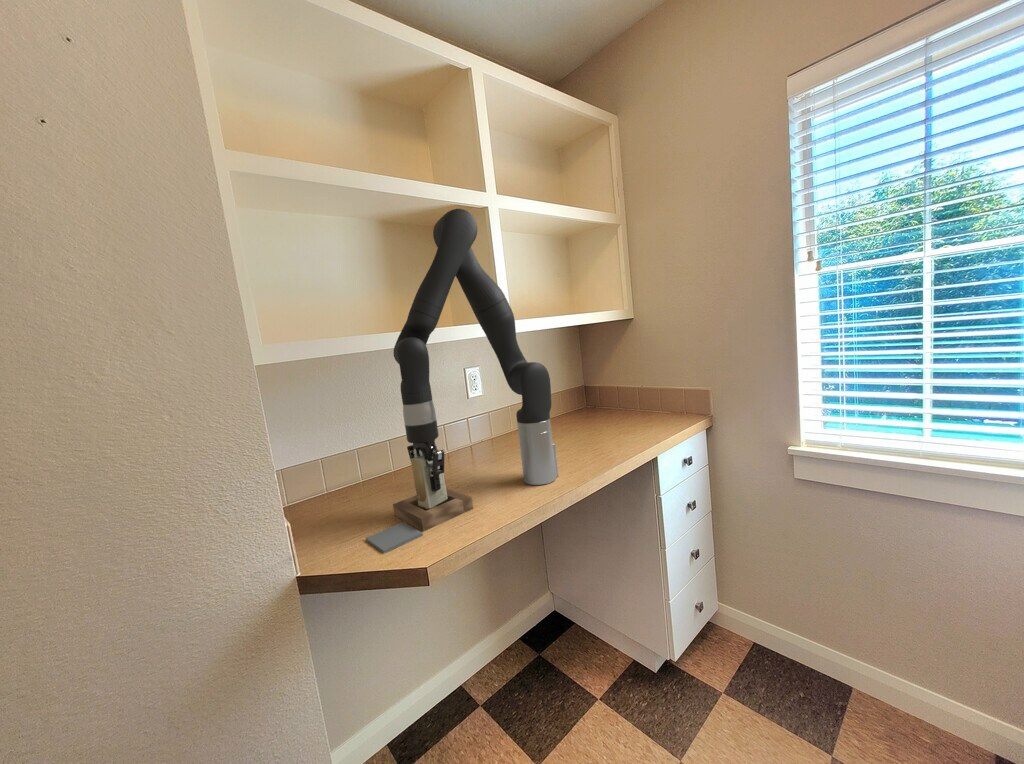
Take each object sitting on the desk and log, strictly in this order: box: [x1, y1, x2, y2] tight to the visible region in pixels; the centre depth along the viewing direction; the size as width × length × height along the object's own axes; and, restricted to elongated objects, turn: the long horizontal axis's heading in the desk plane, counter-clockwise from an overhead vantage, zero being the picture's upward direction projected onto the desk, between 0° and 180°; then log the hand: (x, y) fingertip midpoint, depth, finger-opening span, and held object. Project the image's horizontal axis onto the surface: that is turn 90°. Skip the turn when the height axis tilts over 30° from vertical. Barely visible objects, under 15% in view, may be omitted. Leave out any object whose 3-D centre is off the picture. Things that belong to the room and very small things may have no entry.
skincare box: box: [410, 456, 448, 510], centre depth 98 cm, size 6×4×12 cm
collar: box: [392, 487, 474, 532], centre depth 99 cm, size 14×14×3 cm
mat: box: [365, 521, 424, 554], centre depth 88 cm, size 9×9×1 cm
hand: (430, 487), depth 98 cm, fingers closed on skincare box, 4 cm apart
